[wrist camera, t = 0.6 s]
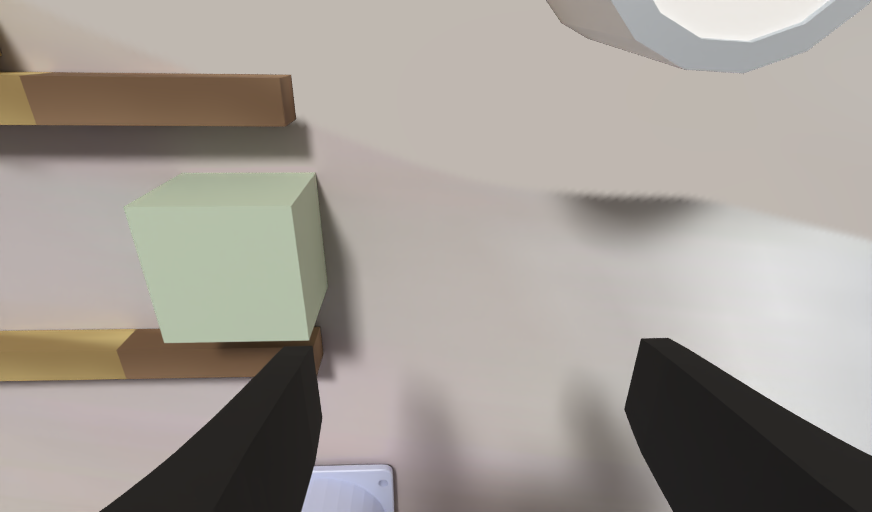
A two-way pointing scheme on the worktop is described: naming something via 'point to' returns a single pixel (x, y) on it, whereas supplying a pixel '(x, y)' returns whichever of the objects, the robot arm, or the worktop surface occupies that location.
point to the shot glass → (708, 28)
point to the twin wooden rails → (139, 106)
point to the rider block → (232, 256)
